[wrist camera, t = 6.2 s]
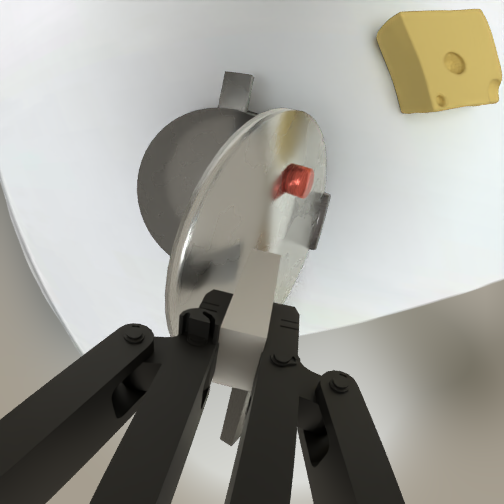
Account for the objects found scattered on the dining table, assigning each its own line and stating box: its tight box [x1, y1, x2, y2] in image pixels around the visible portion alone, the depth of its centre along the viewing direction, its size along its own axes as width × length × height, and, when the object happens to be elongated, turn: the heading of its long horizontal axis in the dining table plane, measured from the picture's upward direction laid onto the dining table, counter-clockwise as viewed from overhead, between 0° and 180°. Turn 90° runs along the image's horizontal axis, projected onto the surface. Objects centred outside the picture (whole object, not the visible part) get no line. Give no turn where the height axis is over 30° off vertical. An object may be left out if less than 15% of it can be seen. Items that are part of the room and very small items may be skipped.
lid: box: [165, 108, 331, 446], centre depth 22 cm, size 30×18×2 cm
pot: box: [137, 71, 259, 256], centre depth 33 cm, size 29×18×9 cm, turn 169°
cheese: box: [376, 9, 502, 114], centre depth 23 cm, size 10×11×10 cm
